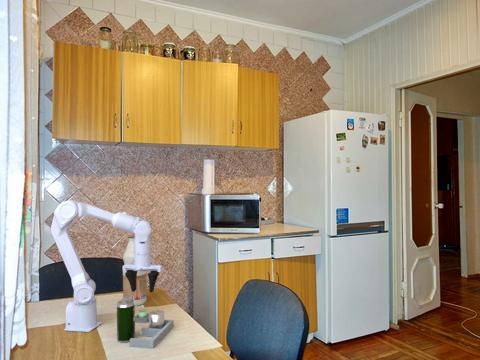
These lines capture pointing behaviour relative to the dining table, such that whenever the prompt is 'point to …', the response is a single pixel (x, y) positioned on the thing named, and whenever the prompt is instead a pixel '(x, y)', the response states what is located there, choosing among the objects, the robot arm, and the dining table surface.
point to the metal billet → (156, 319)
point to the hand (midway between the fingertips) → (142, 291)
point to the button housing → (142, 319)
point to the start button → (143, 314)
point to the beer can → (125, 320)
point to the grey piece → (152, 335)
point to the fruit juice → (141, 279)
